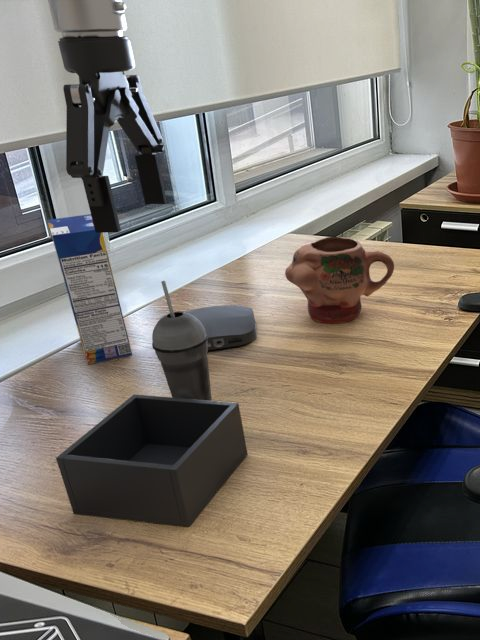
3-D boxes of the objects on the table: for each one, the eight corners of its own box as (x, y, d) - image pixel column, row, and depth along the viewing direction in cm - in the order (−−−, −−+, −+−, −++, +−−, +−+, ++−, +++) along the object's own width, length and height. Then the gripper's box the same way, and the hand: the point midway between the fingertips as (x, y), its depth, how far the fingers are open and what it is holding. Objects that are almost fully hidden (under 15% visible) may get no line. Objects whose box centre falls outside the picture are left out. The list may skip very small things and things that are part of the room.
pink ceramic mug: (391, 297, 142) (387, 229, 136) (400, 320, 132) (396, 248, 126) (290, 306, 138) (281, 238, 132) (291, 331, 128) (281, 257, 122)
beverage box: (88, 365, 117) (52, 235, 107) (80, 341, 125) (47, 219, 115) (132, 355, 120) (101, 228, 110) (122, 332, 128) (93, 213, 119)
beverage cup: (187, 432, 97) (158, 297, 89) (158, 416, 101) (127, 285, 93) (232, 410, 103) (208, 280, 94) (202, 395, 107) (177, 270, 98)
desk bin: (73, 514, 82) (55, 457, 78) (146, 444, 95) (133, 394, 91) (189, 527, 79) (175, 470, 76) (247, 454, 92) (238, 402, 89)
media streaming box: (253, 314, 135) (251, 299, 134) (258, 345, 123) (256, 329, 121) (172, 325, 131) (169, 310, 130) (169, 358, 119) (165, 341, 117)
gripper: (67, 38, 70) (117, 245, 79) (169, 31, 92) (198, 193, 101) (-7, 39, 70) (51, 246, 79) (112, 32, 92) (146, 193, 101)
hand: (133, 216), depth 90 cm, fingers open, 13 cm apart
